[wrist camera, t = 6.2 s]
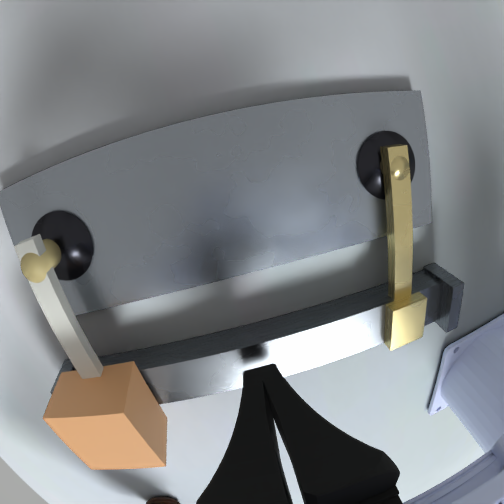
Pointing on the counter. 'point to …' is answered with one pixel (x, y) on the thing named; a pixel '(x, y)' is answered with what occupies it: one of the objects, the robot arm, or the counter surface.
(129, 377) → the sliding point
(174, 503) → the bolt
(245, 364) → the rail
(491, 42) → the counter surface
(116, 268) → the hole plate
